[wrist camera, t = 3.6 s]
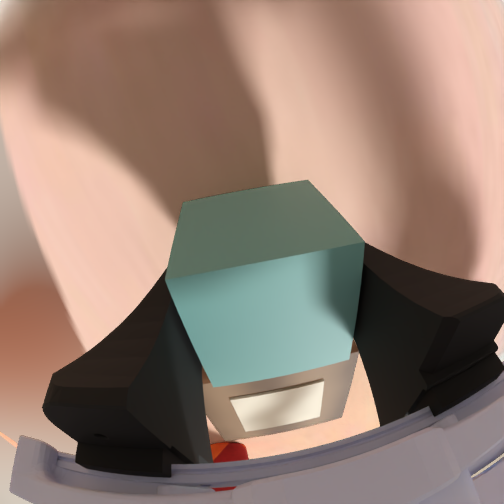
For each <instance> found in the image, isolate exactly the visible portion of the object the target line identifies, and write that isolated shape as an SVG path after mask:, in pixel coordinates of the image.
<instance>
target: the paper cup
mask: <svg viewBox="0 0 504 504" xmlns="http://www.w3.org/2000/svg"><path fill="white" fill-rule="evenodd" d="M210 446H211V452H212V457H213V462H214V463H221V462H232V461H241V460H249V458H248V454H247V450H246V447H245V445H243V444H240V443H233V442H223V443H215V444H211V445H210ZM236 487H237V486H234V487H220V488H212V489H214V490H215V492H217V491H225V490H233V489H234V488H236Z"/></svg>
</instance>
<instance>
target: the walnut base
mask: <svg viewBox="0 0 504 504" xmlns="http://www.w3.org/2000/svg"><path fill="white" fill-rule="evenodd" d="M358 354H359V351H358V348H357V346H356V344H355V342H354V340H353V341H352V347H351V352H350V358H349V360H345V361H342V362H338V363H335V364H331V365H327V366H323V367H319V368H315V369H311V370H307V371H303V372H298V373H294V374H289V375H285V376H280V377H275V378H270V379H264V380H259V381H253V382H247V383H241V384H235V385H228V386H221V387H213V386H212V384H211V382H210V380H209V378H208V376H207V374H206V372H205V370H204V368H203V366H202V381H203V393H204V403H205V412H206V415H207V417H208V418H209V420H210V421H211V422H212V424H213V425H214V427H215V428H216V429H217V431H218V432H219V433H220V435H221V436H222V437H223V439H224V440H225V441H230V440H238V439H246V438H252V437H259V436H265V435H271V434H276V433H281V432H286V431H291V430H295V429H300V428H304V427H308V426H312V425H316V424H320V423H324V422H328V421H331V420H335V419H338V418H341V417H342V415H343V411H344V408H345V404H346V401H347V397H348V394H349V390H350V386H351V383H352V379H353V375H354V371H355V367H356V363H357V358H358Z"/></svg>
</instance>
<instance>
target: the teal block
mask: <svg viewBox="0 0 504 504" xmlns="http://www.w3.org/2000/svg"><path fill="white" fill-rule="evenodd" d="M364 247H365V241H364V240H363V239H362V238H361V237H360V236H359V234H358V233H357V232H356V231H355V230H354V229H353V228H352V226H351V225H350V224H349V223H348V222H347V221H346V220H345V219H344V217H343V216H342V215H341V214H340V213H339V212H338V211H337V210H336V209H335V208H334V207H333V206H332V204H331V203H330V202H329V201H328V200H327V199H326V198H325V197H324V196H323V195H322V194H321V193H320V192H319V191H318V190H317V189H316V188H315V187H314V186H313V185H312V184H311V182H310V181H309V180H303V181H297V182H290V183H284V184H277V185H271V186H265V187H259V188H253V189H248V190H242V191H237V192H231V193H226V194H221V195H216V196H211V197H206V198H201V199H196V200H191V201H186V202H183V204H182V208H181V212H180V216H179V220H178V224H177V228H176V232H175V236H174V241H173V245H172V249H171V254H170V258H169V263H168V267H167V272H166V277H165V281H166V284H167V286H168V289H169V291H170V294H171V296H172V299H173V301H174V304H175V306H176V308H177V311H178V313H179V315H180V318H181V320H182V322H183V325H184V327H185V329H186V331H187V334H188V336H189V338H190V340H191V342H192V345H193V347H194V349H195V351H196V353H197V355H198V357H199V359H200V362H201V364H202V366H203V368H204V370H205V372H206V374H207V376H208V378H209V380H210V382H211V384H212V386H213V387H221V386H228V385H235V384H241V383H247V382H253V381H259V380H264V379H270V378H275V377H280V376H285V375H289V374H294V373H298V372H303V371H307V370H311V369H315V368H319V367H323V366H327V365H331V364H335V363H338V362H342V361H345V360H349V358H350V352H351V347H352V341H353V336H354V330H355V323H356V317H357V310H358V303H359V295H360V287H361V278H362V269H363V258H364Z"/></svg>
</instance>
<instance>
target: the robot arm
mask: <svg viewBox="0 0 504 504" xmlns="http://www.w3.org/2000/svg"><path fill="white" fill-rule="evenodd" d="M166 272H167V269H166V270H165V271H164V273H163V274H162V275H161V277H160V278H159V280H158V281H157V282H156V284H155V285H154V286H153V288H152V289H151V290H150V291H149V293H148V294H147V295H146V296H145V298H144V299H143V300H142V301H141V302H140V304H139V305H138V306H137V307H136V308H135V309H134V311H133V312H132V313H131V314H130V315H129V316H128V317H127V318H126V319H125V320H124V321H123V322H122V323H121V324H120V325H119V326H118V327H117V328H116V329H114V330H113V331H112V332H111V333H110V334H109V335H108V336H107V337H105V338H104V339H103V340H102V341H101V342H100V343H98V344H97V345H96V346H94V347H93V348H92V349H91V350H89V351H88V352H86V353H85V354H84V355H82V356H81V357H80V358H78V359H76V360H75V361H73V362H72V363H70V364H68V365H67V366H65V367H63V368H62V369H60V370H59V371H57V372H55V373H53V375H52V378H51V381H50V384H49V387H48V390H47V393H46V396H45V400H44V403H43V407H42V408H43V412H44V414H45V415H46V417H47V418H48V419H49V420H50V421H51V422H52V423H53V424H54V425H55V426H57V427H58V428H59V429H61V430H62V431H63V432H64V433H66V434H67V435H69V436H70V437H71V438H73V439H74V440H76V441H77V442H78V445H77V451H76V455H73V454H68V453H63V452H59V451H57V450H56V449H55V448H54V447H52V446H51V445H49V444H47V443H45V442H43V441H40V440H37V439H34V438H30V437H26V436H23V435H21V436H20V437H19V442H18V446H17V451H16V455H15V460H14V466H13V471H12V477H11V483H10V492H11V493H13V494H15V495H17V496H19V497H21V498H23V499H25V500H27V501H29V502H31V503H33V504H504V457H503V458H501V459H500V460H499V461H497V462H496V463H494V464H493V465H492V466H490V467H489V468H487V469H486V470H484V471H483V472H482V473H480V474H478V475H477V476H475V477H473V478H471V475H473V474H475V473H476V472H478V471H479V470H480V469H482V468H484V467H485V466H486V465H488V464H489V463H491V462H492V461H494V460H495V459H496V458H498V457H499V456H500V455H502V454H503V453H504V361H503V362H501V360H500V359H499V358H498V356H497V355H496V353H495V352H496V351H497V350H498V346H497V344H496V343H495V342H494V339H495V337H496V335H497V334H498V332H499V330H500V328H501V327H502V325H503V323H504V293H503V292H502V291H501V290H500V289H499V288H498V286H497V285H495V284H493V283H485V282H477V281H470V280H465V279H460V278H455V277H451V276H447V275H443V274H439V273H436V272H433V271H429V270H426V269H423V268H420V267H417V266H415V265H412V264H410V263H407V262H404V261H402V260H400V259H397V258H395V257H393V256H391V255H389V254H387V253H385V252H383V251H381V250H379V249H377V248H375V247H373V246H371V245H369V244H367V243H365V247H364V258H363V269H362V278H361V287H360V295H359V303H358V310H357V317H356V323H355V330H354V336H353V338H354V340H355V343H356V345H357V348H358V351H359V353H360V356H361V359H362V362H363V365H364V368H365V371H366V374H367V377H368V380H369V383H370V387H371V390H372V394H373V397H374V401H375V405H376V409H377V413H378V418H379V422H380V427H378V428H376V429H373V430H370V431H367V432H364V433H361V434H358V435H355V436H352V437H349V438H346V439H343V440H339V441H336V442H332V443H329V444H325V445H321V446H317V447H313V448H309V449H305V450H300V451H296V452H291V453H286V454H281V455H275V456H269V457H263V458H256V459H249V460H241V461H232V462H221V463H214V462H213V457H212V452H211V446H210V440H209V434H208V427H207V420H206V412H205V403H204V393H203V381H202V364H201V362H200V359H199V357H198V355H197V353H196V351H195V349H194V347H193V345H192V342H191V340H190V338H189V336H188V334H187V331H186V329H185V327H184V325H183V322H182V320H181V318H180V315H179V313H178V311H177V308H176V306H175V304H174V301H173V299H172V296H171V294H170V291H169V289H168V286H167V284H166V281H165V277H166ZM234 486H237V487H236V488H234V489H233V490H225V491H217V492H215V490H214V489H212V488H220V487H234Z"/></svg>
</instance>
